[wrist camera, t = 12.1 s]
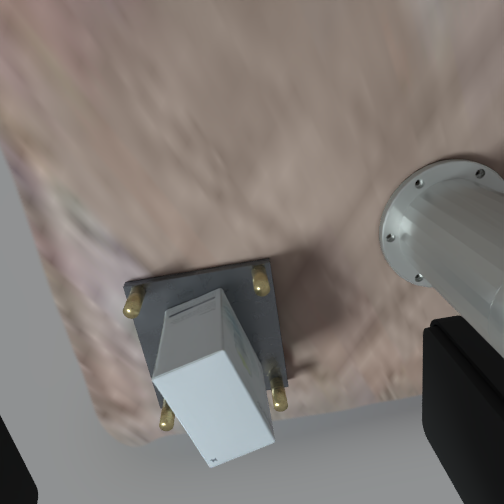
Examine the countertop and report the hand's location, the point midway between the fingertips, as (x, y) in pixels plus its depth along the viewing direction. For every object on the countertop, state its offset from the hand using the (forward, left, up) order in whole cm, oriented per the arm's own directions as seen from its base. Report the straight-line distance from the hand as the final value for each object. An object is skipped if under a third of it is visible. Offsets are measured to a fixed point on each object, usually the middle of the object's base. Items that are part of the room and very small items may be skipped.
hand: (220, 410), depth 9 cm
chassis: (+4, +18, -30) cm, 35 cm away
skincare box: (+3, +18, -30) cm, 35 cm away
